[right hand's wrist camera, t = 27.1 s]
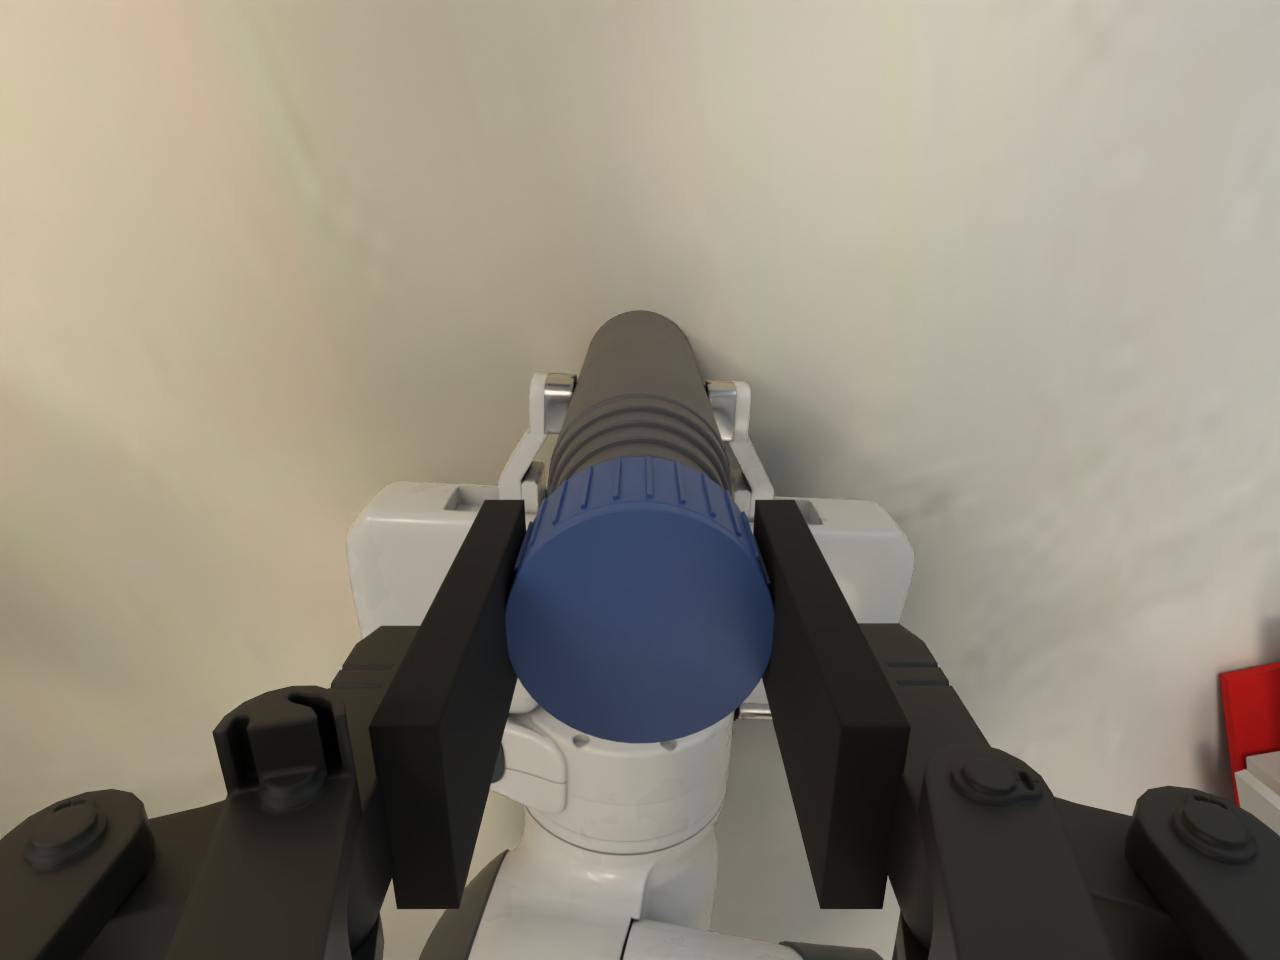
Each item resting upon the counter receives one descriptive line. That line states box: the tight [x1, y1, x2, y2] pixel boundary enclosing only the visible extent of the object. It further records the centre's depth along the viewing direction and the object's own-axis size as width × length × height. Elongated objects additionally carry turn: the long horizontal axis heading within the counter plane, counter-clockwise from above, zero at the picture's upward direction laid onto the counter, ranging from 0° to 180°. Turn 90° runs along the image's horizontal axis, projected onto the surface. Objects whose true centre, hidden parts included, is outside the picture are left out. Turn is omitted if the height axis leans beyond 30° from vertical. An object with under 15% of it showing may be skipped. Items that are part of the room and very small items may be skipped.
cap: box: [505, 456, 774, 743], centre depth 13 cm, size 5×5×2 cm
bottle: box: [548, 311, 732, 498], centre depth 23 cm, size 5×5×20 cm
